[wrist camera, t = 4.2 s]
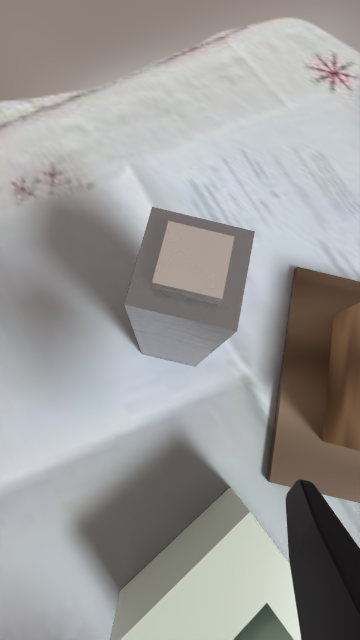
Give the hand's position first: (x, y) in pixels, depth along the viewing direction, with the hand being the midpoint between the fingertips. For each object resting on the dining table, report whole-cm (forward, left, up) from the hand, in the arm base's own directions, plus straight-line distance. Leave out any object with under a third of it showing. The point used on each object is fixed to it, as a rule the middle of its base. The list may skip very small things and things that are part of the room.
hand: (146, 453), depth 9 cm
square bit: (+5, +4, -12) cm, 14 cm away
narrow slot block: (-3, -11, -12) cm, 17 cm away
